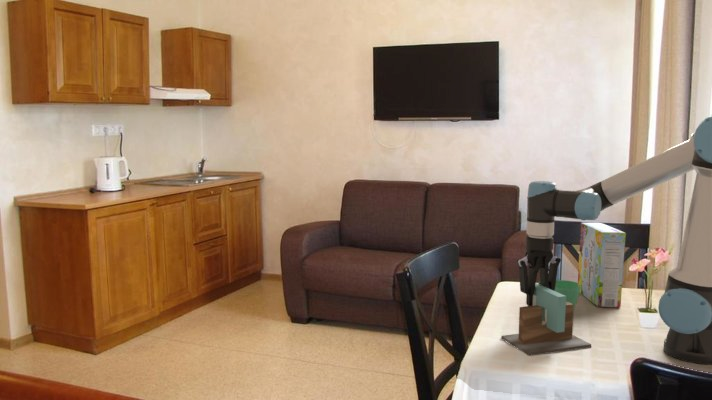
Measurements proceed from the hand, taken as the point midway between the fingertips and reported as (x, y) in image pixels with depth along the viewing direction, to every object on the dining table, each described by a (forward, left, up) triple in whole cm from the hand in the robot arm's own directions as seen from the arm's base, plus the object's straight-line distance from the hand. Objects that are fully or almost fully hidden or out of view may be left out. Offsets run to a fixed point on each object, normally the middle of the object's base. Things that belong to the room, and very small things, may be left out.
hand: (536, 315), depth 184 cm
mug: (+18, -20, -7) cm, 28 cm away
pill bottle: (+7, -10, -7) cm, 14 cm away
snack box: (+27, -43, -7) cm, 51 cm away
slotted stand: (-5, 0, -7) cm, 8 cm away
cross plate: (-4, 0, -1) cm, 5 cm away
